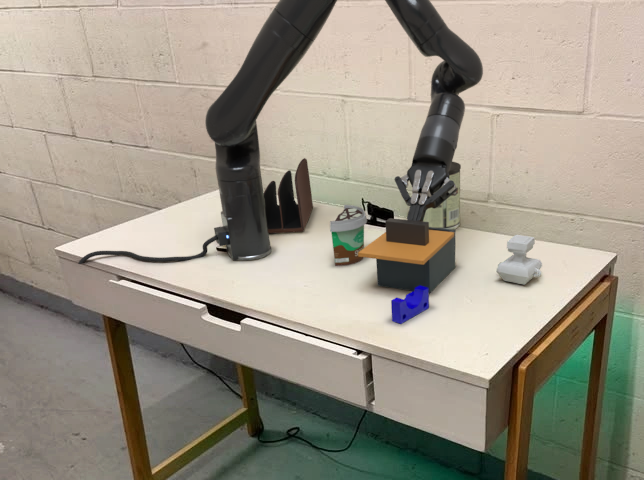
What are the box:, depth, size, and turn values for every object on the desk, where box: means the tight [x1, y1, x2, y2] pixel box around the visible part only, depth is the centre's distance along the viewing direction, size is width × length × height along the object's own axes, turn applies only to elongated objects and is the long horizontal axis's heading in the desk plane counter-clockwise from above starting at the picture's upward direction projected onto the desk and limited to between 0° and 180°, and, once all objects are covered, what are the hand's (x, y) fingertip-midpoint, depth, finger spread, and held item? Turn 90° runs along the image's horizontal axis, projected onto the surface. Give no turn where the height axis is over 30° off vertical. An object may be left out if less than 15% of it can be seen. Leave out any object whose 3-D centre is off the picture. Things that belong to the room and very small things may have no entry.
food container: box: [329, 204, 368, 267], centre depth 147 cm, size 12×6×10 cm, turn 168°
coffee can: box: [423, 161, 462, 230], centre depth 163 cm, size 10×10×14 cm
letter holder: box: [263, 157, 314, 234], centre depth 171 cm, size 10×20×14 cm, turn 179°
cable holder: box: [390, 285, 430, 325], centre depth 123 cm, size 8×4×4 cm, turn 139°
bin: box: [375, 227, 456, 294], centre depth 137 cm, size 14×11×8 cm
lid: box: [358, 217, 454, 265], centre depth 131 cm, size 16×13×5 cm
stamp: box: [496, 234, 543, 286], centre depth 133 cm, size 9×7×8 cm
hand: (413, 224), depth 133 cm, fingers closed
